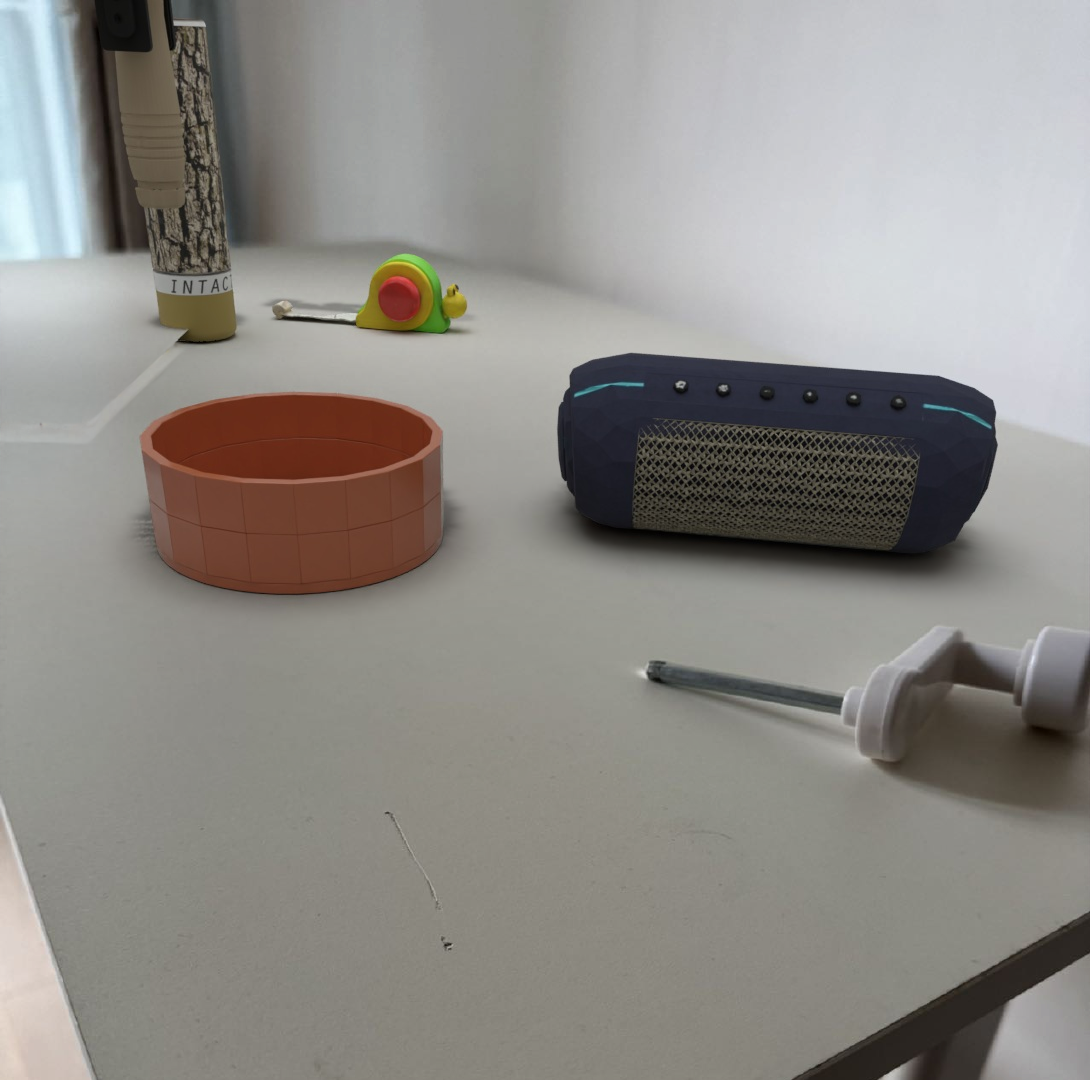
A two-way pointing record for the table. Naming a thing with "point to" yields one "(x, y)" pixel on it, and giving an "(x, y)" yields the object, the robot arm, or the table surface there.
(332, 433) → the bowl
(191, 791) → the table surface
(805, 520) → the portable speaker
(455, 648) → the table surface
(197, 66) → the paper tube
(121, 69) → the handle
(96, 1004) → the table surface
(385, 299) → the toy measuring tape
